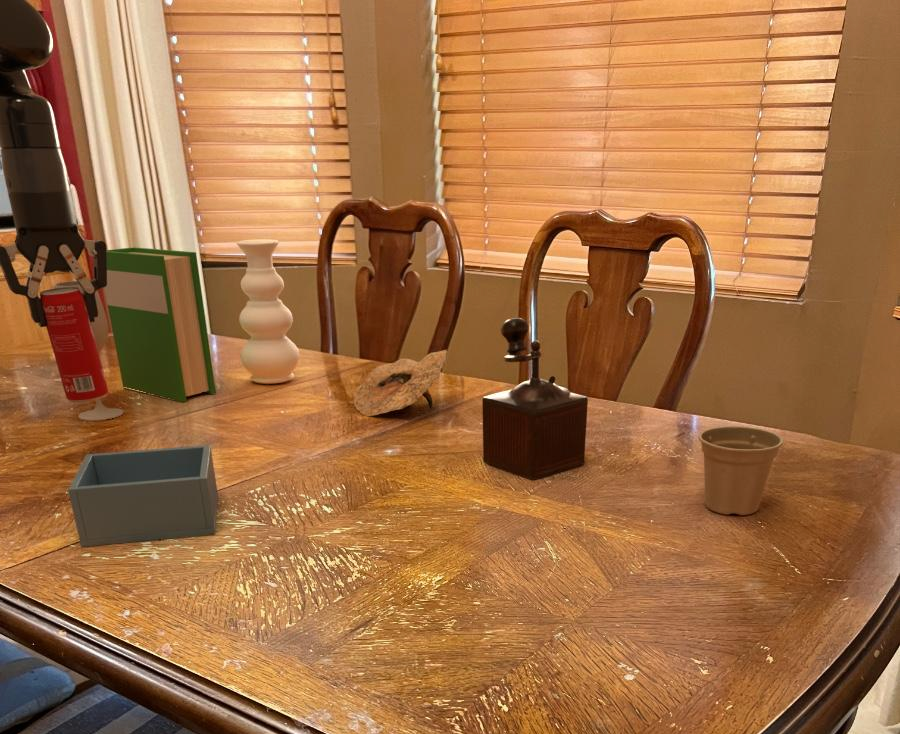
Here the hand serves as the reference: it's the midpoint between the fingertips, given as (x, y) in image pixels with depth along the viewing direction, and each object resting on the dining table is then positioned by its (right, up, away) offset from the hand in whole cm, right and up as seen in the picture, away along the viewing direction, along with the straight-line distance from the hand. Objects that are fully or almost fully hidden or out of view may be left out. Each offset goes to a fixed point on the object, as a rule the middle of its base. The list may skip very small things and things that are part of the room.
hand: (66, 323), depth 118 cm
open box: (+17, -29, -16) cm, 37 cm away
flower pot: (+87, -27, -15) cm, 92 cm away
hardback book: (+1, 0, +40) cm, 40 cm away
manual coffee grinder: (+63, -18, +3) cm, 66 cm away
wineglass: (-6, -7, +26) cm, 28 cm away
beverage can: (0, -9, +5) cm, 11 cm away
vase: (+19, +4, +46) cm, 50 cm away
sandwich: (+44, -6, +27) cm, 52 cm away
